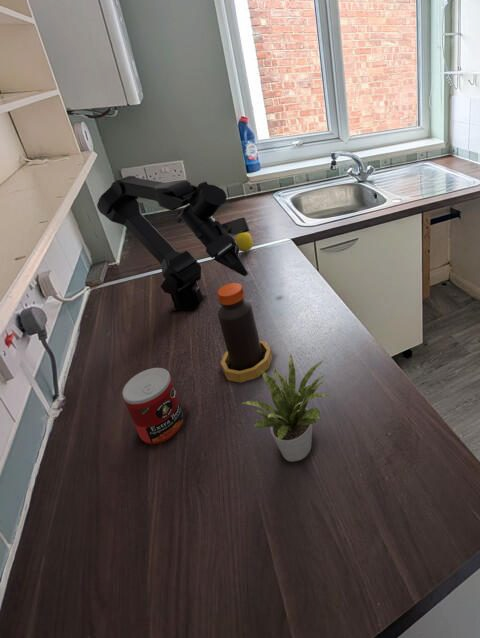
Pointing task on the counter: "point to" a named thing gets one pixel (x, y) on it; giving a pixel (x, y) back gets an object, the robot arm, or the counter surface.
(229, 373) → the yellow flat ring
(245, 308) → the vinegar
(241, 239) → the lemon
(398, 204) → the counter surface
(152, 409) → the canned food
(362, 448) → the counter surface
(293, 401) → the house plant
